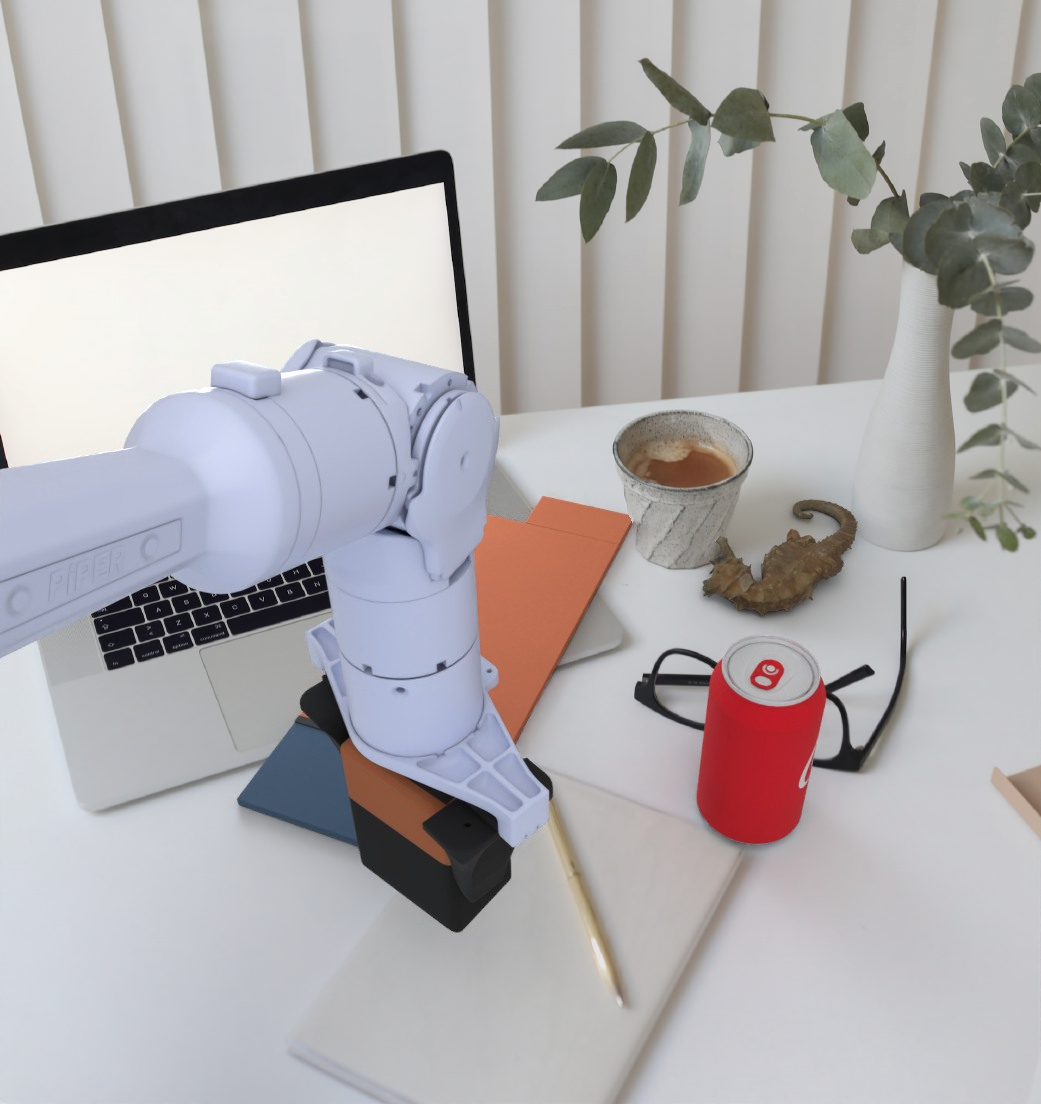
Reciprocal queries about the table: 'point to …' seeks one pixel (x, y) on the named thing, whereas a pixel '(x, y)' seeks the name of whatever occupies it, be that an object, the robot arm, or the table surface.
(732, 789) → the beverage can
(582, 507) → the sorting mat
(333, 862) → the table surface
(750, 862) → the table surface
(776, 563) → the seahorse
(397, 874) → the battery
